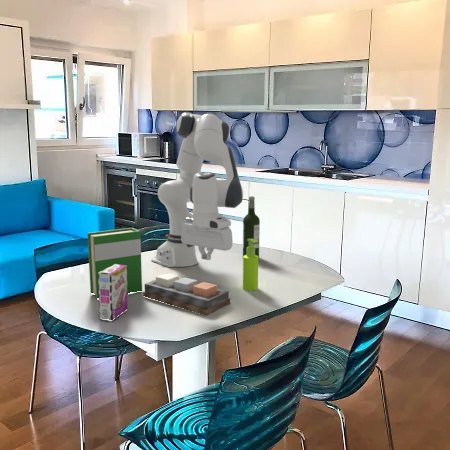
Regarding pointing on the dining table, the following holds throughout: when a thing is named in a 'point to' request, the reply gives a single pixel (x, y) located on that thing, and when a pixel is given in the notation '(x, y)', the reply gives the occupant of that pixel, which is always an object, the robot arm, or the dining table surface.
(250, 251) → the soap dispenser
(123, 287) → the candy bar box
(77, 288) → the dining table surface
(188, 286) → the grey key
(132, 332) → the dining table surface
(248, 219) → the wine bottle
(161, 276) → the cream key
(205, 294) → the terracotta key
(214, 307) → the compartment tray
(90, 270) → the hardback book
